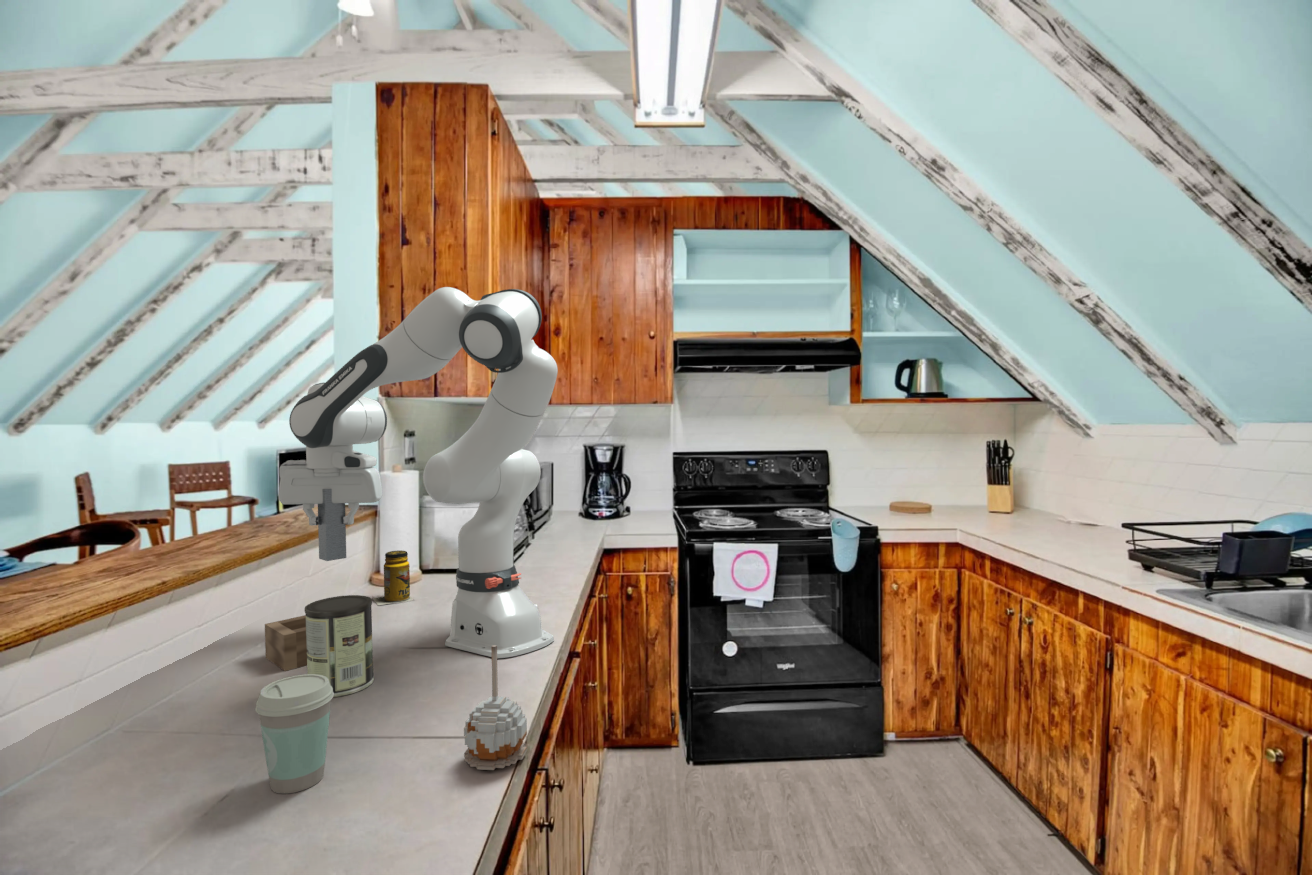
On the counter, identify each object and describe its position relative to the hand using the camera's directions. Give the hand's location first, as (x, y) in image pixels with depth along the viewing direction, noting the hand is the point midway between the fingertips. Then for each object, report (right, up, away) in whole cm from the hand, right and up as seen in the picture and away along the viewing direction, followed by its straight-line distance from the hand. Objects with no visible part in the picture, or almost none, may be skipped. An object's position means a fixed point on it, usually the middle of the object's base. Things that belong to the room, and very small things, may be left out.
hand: (331, 524), depth 137 cm
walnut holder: (+2, -23, -14) cm, 27 cm away
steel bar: (0, -7, 0) cm, 7 cm away
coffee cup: (+24, -25, -57) cm, 66 cm away
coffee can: (+15, -24, -27) cm, 39 cm away
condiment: (+3, -23, +25) cm, 34 cm away
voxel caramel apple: (+48, -24, -51) cm, 74 cm away
